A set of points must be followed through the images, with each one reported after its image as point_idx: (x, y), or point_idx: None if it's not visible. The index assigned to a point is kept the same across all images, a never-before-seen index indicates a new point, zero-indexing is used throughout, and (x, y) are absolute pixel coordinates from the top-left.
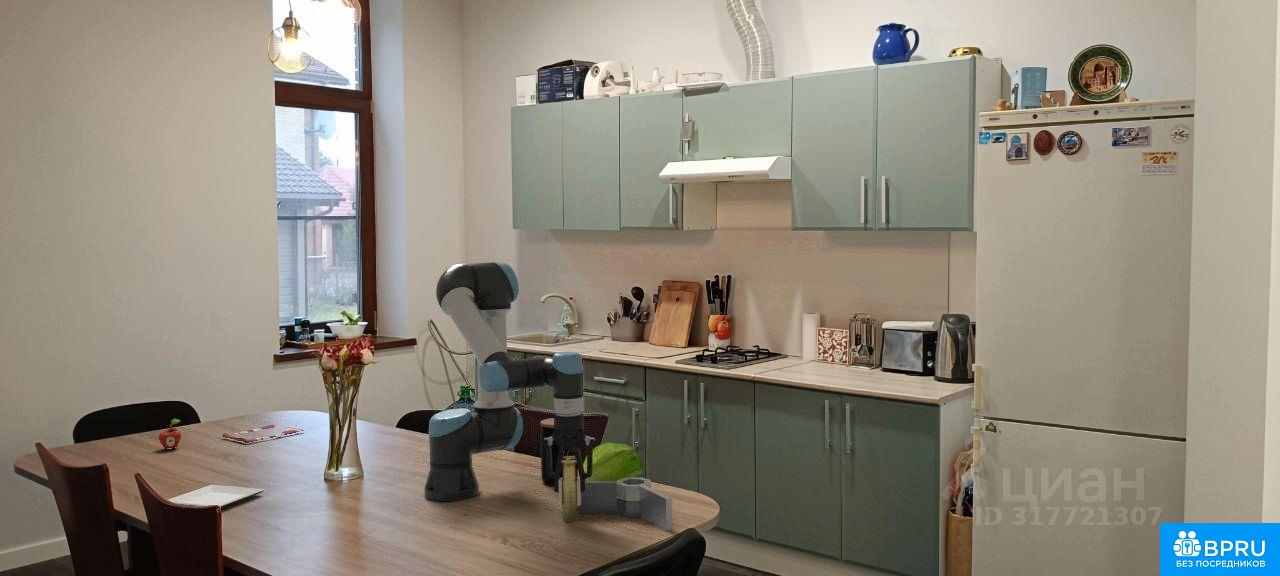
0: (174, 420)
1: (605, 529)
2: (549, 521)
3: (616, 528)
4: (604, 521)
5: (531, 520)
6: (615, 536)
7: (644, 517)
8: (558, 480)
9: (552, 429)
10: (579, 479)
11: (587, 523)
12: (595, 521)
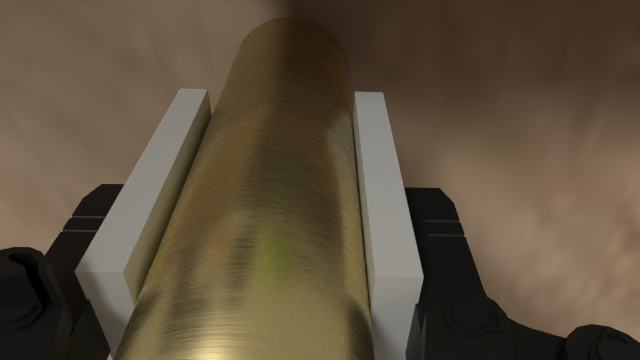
0: None
1: (503, 237)
2: (148, 95)
3: (567, 225)
4: (528, 106)
5: (10, 69)
6: (530, 315)
7: None
8: (106, 343)
9: None
10: (398, 342)
11: (409, 141)
12: (466, 104)
